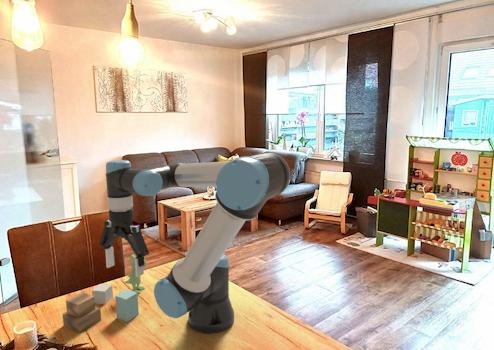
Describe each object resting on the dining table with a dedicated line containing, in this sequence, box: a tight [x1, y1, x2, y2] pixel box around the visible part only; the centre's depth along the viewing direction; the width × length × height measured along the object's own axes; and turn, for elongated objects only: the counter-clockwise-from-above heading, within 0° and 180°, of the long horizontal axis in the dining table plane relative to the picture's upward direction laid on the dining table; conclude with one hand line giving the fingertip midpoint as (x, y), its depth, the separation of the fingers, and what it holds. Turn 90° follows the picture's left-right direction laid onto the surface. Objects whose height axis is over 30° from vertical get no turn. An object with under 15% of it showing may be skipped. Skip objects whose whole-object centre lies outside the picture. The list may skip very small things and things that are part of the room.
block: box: [91, 283, 114, 305], centre depth 129 cm, size 5×5×5 cm
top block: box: [65, 291, 96, 318], centre depth 115 cm, size 6×6×4 cm
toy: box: [122, 253, 147, 294], centre depth 135 cm, size 7×8×15 cm
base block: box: [62, 306, 102, 333], centre depth 115 cm, size 8×8×4 cm
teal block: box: [114, 288, 140, 323], centre depth 119 cm, size 5×5×8 cm
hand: (124, 270), depth 117 cm, fingers open, 13 cm apart
